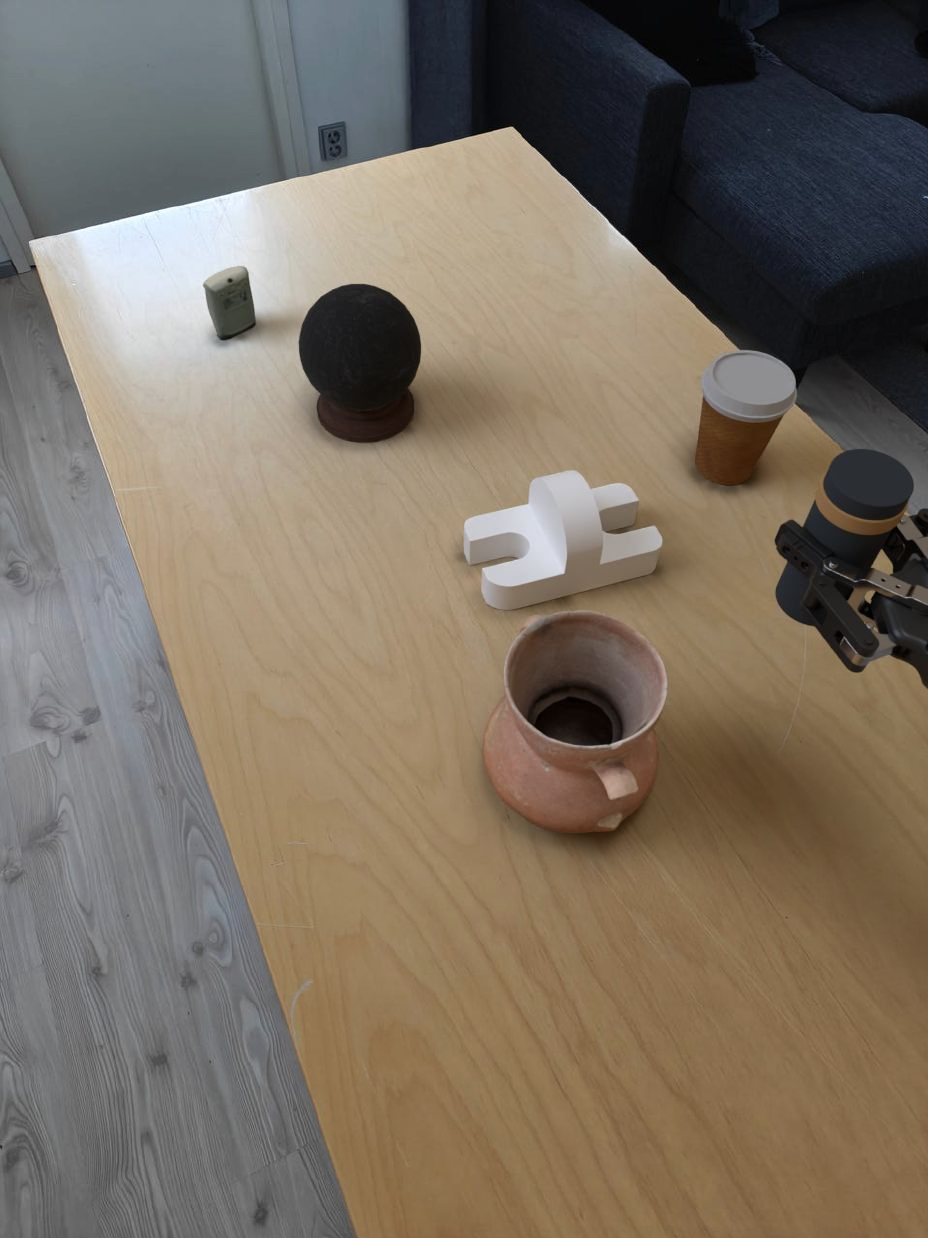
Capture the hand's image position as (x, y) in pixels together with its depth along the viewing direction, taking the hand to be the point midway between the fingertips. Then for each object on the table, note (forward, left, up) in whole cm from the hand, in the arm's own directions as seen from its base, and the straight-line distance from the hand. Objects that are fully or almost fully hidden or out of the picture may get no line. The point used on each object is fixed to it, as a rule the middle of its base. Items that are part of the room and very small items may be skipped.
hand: (811, 513), depth 62 cm
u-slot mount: (+12, -19, -26) cm, 34 cm away
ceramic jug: (+15, +4, -26) cm, 30 cm away
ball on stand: (+31, -43, -26) cm, 59 cm away
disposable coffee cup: (-8, -31, -26) cm, 42 cm away
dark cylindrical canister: (-1, +2, -7) cm, 7 cm away
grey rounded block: (+47, -59, -26) cm, 80 cm away
